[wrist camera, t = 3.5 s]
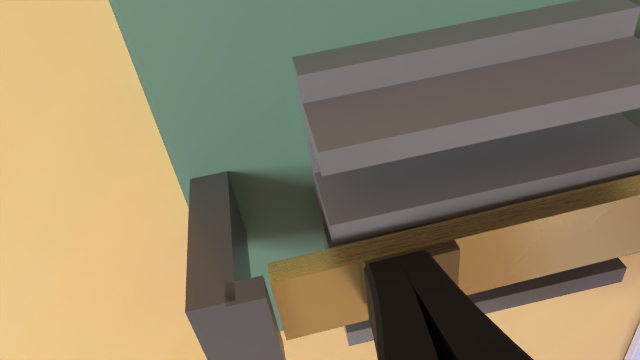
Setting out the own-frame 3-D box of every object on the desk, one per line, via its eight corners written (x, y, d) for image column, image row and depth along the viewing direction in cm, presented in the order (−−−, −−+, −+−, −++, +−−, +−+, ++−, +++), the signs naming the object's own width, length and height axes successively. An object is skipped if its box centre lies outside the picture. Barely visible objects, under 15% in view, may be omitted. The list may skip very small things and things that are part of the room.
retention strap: (731, 152, 12) (764, 175, 11) (702, 215, 13) (731, 239, 12) (267, 263, 11) (272, 295, 10) (282, 319, 12) (288, 351, 12)
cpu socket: (712, -124, 12) (979, -77, 8) (602, 238, 19) (711, 359, 15) (114, -12, 11) (61, 106, 7) (238, 322, 19) (248, 475, 14)
